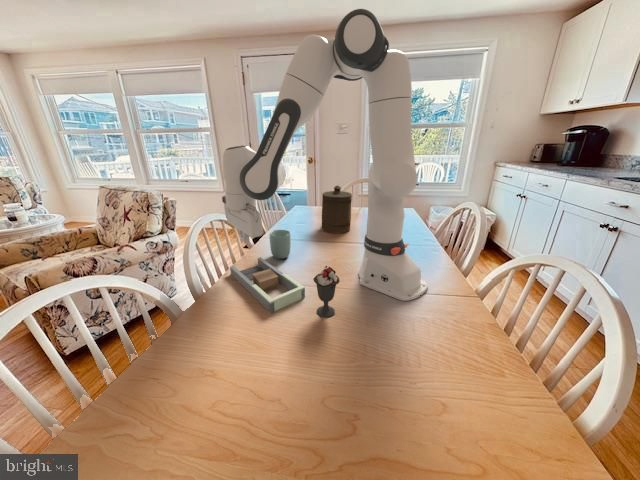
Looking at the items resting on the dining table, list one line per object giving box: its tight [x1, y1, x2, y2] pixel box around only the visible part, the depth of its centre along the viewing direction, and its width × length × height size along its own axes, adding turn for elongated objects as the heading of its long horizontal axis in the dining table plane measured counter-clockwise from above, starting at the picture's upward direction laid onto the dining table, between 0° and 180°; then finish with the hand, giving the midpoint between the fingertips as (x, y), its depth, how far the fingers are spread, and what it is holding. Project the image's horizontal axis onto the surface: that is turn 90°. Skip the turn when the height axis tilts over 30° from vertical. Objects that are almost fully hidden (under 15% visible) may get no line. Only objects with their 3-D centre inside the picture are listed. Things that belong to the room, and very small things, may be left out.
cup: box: [269, 229, 292, 260], centre depth 99 cm, size 8×8×10 cm
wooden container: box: [321, 185, 353, 234], centre depth 128 cm, size 15×15×22 cm
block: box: [252, 269, 280, 293], centre depth 80 cm, size 6×6×4 cm
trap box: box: [229, 257, 306, 314], centre depth 80 cm, size 27×11×4 cm, turn 40°
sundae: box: [312, 265, 340, 319], centre depth 66 cm, size 7×7×15 cm
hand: (245, 241), depth 85 cm, fingers closed
